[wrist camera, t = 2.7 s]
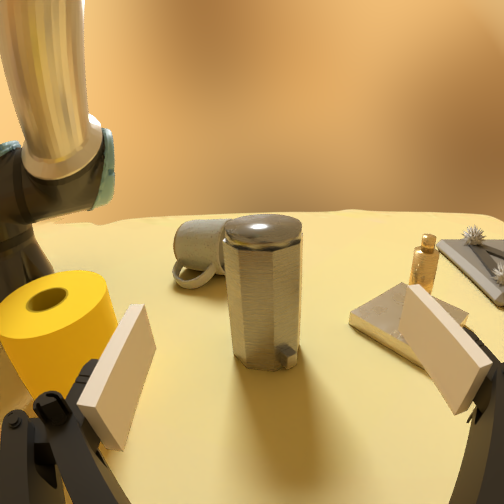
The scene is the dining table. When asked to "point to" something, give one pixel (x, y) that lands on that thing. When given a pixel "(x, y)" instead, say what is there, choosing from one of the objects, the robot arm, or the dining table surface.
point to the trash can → (264, 289)
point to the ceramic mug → (199, 250)
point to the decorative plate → (479, 261)
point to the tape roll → (56, 328)
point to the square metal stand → (391, 304)
